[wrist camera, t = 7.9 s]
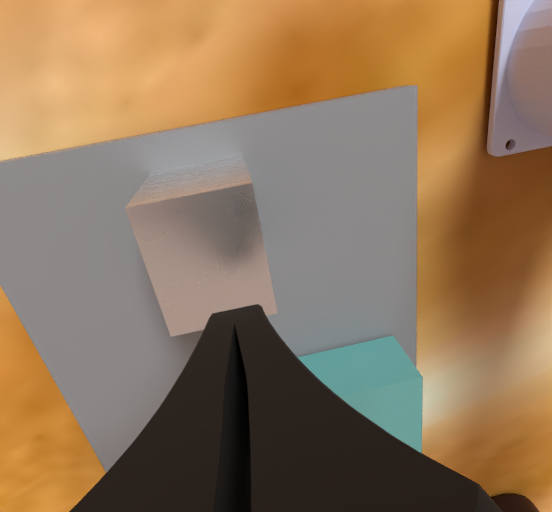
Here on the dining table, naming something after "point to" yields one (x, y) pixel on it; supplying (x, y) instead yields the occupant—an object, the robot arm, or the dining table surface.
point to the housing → (375, 384)
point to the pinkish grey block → (202, 242)
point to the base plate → (276, 235)
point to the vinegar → (514, 503)
